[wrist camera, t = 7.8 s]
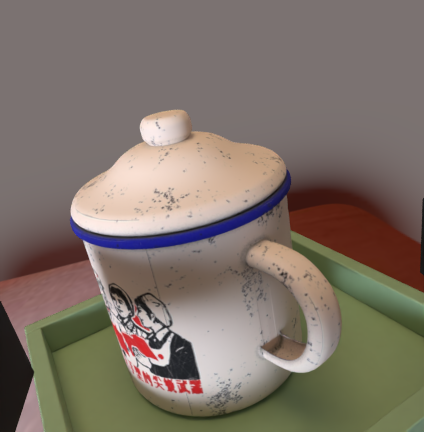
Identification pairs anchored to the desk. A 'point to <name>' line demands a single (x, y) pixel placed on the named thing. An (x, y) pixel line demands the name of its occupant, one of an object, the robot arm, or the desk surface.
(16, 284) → the desk surface
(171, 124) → the teacup with lid
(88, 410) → the tray
